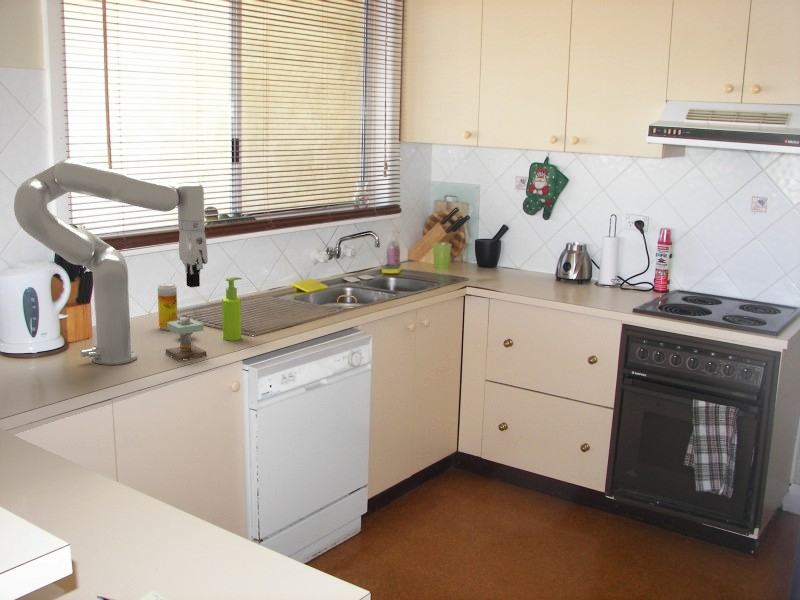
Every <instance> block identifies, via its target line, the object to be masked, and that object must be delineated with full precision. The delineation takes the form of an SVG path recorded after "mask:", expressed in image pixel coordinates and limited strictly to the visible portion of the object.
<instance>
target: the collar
mask: <svg viewBox="0 0 800 600" xmlns="http://www.w3.org/2000/svg"><path fill="white" fill-rule="evenodd" d="M167 329H169V331H170V332H172V333H175V334H177V335H179V334H186V333H192V332H193V333H197V332H204V329H205V328H204V324H203V323H202V322H200V321H197V320H196V319H193V318H190V324H189V325H183V326H182V325H180V319H179V320H178V321H172V322H167ZM193 333H192V334H193Z"/></svg>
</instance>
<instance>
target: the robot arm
mask: <svg viewBox="0 0 800 600" xmlns="http://www.w3.org/2000/svg"><path fill="white" fill-rule="evenodd" d="M204 190H205V189H204V187H203V185H202V184H200V183H193V182H192V183H190V182H187V183H171V182H164V181H163V182H162V181H161V182H157V183H155V182H150V181H147V180H141V179H138V178H135V177H132V176H129V175H127V174H126V173H123V172H121V171H119V170H115V169H110V168H106V167H100V166H96V165H91V164H87V163H84V162H79V161H78V160H76V159H74V158H65V159H63V160H60V161H59V162H57V163H55V164H54V165H51V166H50V167H48V168H46V169H45V170H43V171H42V172H39V173H37V174H35V175H34V176H32V177H30V178H28V179H26V180H25V181H23V182H22V183H21V184H20V185H19V187H18V188H17V190H16V192H15V195H14V202H13V203H14V204H13V210H14V211H13V212H14V216H15V219H16V221H17V224H19V226H20V227H21V229H23V230H24V232H26V233H27V234H28V235H29V236H31V237H32V238H33V239H34V240H36V241H38V242H40V243H41V244H42V245H43V246H45V247H46V248H47V249H49V250H51V251H52V252H54V253H55V254H56V255H58V256H60V257H61V258H63V259H64V260H65V261H66V262H68V263H69V264H72V265H76V266H83V268H86V269H87V270H89V271H91V273H92V282H93V284H92V285H93V296H94V301H93V302H94V311H95V312H94V314H95V331H96V332H95V333H96V344H93V347H91V348H90V349H82V350H80V357H82V358H84V357H88V358H92V359H91V360H92V362H94V363H96V364H98V365H107V366H112V365H116V366H117V365H122V364H127V363H130V362H133V361H135V360H137V358H138V354H137V352H136V351H134V350H132V341H131V340H132V339H131V321H130V299H129V296H130V295H129V270H128V264H127V261H126V258H125V257H124V255H123V253H121V252H120V251H119V250H117V249H116V248H114V247H113V246H111V245H110V244H109V243H107V242H105V241H104V240H103V239H101V238H99V237H98V236H97V235H95V234H93V233H92V232H90V231H89V230H87V229H84V228H82V227H81V228H80V227H73V226H71V225H69V223H66V222H65V221H64V220H62V219H61V218H59V216H58V217H57V216H56V215H54V214H53V213H51V212H50V210H49V209H48V204H49V203H51V202H53V201H55V200H56V199H58V198H60V197H62V196H64V195H66V194H67V193H68V192H71V193H76V194H81V195H86V196H89V197H90V196H91V197H96V198H100V199H105V200H109V201H113V202H117V203H121V204H127V205H130V206H134V207H138V208H143V209H148V210H153V211H158V212H164V213H165V212H170V211H173V210H175V208H177V224H178V227H177V228H178V232H179V237H178V255H179V260H180V261H181V262H182V264H183V265H184V268H185V269H184V270H185V273H186V286H187V287H189V288H197V287H200V286H201V285H200V281H201V280H200V279H201V278H200V275H201V270H204V265H206V264H208V262H209V261H208V246H207V245H208V243H207V236H206V233H205V230H206V229H205V227H206V226H205V199H204V198H205V197H204V195H205V194H204V193H205V192H204Z"/></svg>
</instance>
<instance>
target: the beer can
mask: <svg viewBox="0 0 800 600" xmlns="http://www.w3.org/2000/svg"><path fill="white" fill-rule="evenodd" d="M177 293H178V292H177V286H176V283H173V282H161V283H159V284H158V286H157V307H158V326H159V328H160V329H161V330H165V331H168V330H169V329H167V322H172V321H179V320H178V319H179V318H178V297H177V296H178V294H177ZM169 331H170V330H169Z"/></svg>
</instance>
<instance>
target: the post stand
mask: <svg viewBox="0 0 800 600" xmlns="http://www.w3.org/2000/svg"><path fill="white" fill-rule="evenodd" d="M190 319H191V317H189V316H187V317H183V316H182V317H180V318H179V320H180V325H182V326H183V325H189V324H190ZM191 335H192V334H191V333H186V334H180V335H179V336H180V343H179V346H176V347H171V348H165V355H167V354H168V355H167V356H169V355H170V356H172V357H174V358H175V359H174V358H173V359H174V360H176V359H177V360H176V361H178V360H183V359H188V360H191V359H190V358H194V359H199V358H204V357H203V356H205V357H207V356H208V355H207V351H206V350H204V349H202V348H201V347H199V346H196V345H194V344H192V338H191ZM170 356H169V357H170ZM172 357H171V358H172ZM198 357H199V358H198ZM183 361H184V360H183Z"/></svg>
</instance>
